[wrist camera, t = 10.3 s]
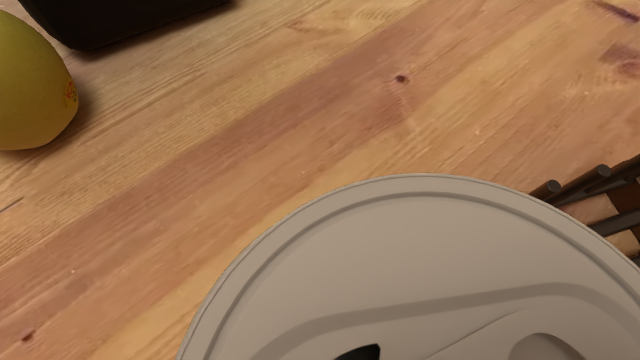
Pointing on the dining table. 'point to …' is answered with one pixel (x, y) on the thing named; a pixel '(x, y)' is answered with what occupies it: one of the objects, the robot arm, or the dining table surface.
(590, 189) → the dish rack
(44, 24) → the air purifier
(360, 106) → the dining table surface
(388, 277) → the beverage can
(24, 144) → the apple
